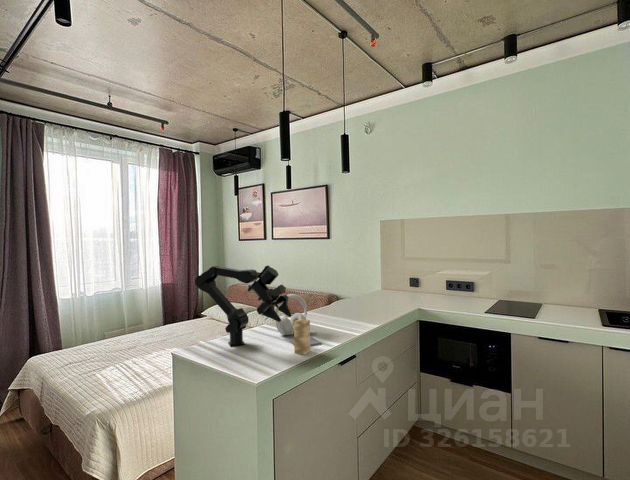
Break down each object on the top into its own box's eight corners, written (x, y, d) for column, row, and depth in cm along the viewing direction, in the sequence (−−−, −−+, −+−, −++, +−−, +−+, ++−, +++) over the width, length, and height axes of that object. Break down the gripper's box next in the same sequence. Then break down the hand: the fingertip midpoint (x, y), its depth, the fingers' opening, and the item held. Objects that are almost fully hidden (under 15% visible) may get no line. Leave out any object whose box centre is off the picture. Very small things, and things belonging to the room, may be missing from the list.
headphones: (280, 340, 153) (279, 297, 153) (270, 335, 161) (269, 295, 162) (312, 332, 164) (311, 293, 164) (301, 328, 172) (300, 291, 173)
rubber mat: (289, 341, 151) (289, 339, 151) (310, 337, 155) (310, 336, 155) (298, 348, 141) (298, 346, 141) (321, 344, 146) (321, 342, 146)
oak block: (294, 353, 135) (293, 321, 135) (299, 349, 139) (299, 319, 139) (305, 354, 133) (304, 322, 133) (310, 350, 137) (309, 319, 137)
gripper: (262, 282, 133) (286, 310, 128) (284, 277, 150) (306, 302, 145) (246, 300, 136) (270, 329, 131) (270, 293, 153) (291, 318, 149)
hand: (285, 318), depth 139 cm, fingers open, 9 cm apart
